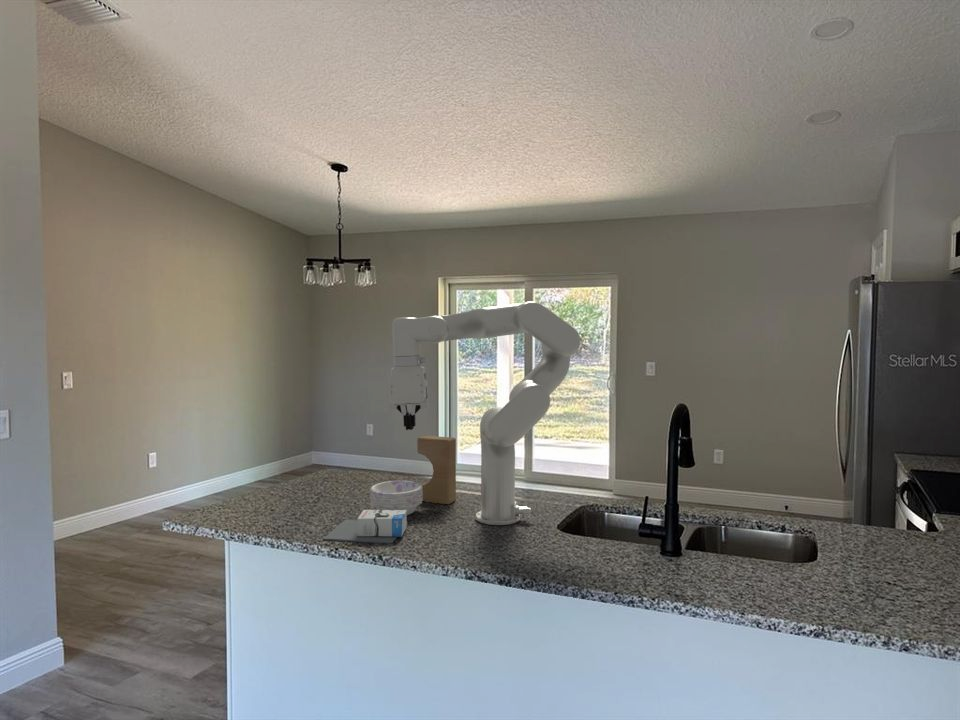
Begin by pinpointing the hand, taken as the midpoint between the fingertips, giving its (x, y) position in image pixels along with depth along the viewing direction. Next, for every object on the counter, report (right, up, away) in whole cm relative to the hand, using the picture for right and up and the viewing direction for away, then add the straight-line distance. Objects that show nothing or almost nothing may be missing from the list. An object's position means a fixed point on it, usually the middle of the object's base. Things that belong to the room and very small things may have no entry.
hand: (409, 429), depth 168 cm
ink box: (0, -24, -8) cm, 25 cm away
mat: (-10, -26, -6) cm, 29 cm away
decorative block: (+6, -26, +24) cm, 35 cm away
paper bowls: (-5, -26, +11) cm, 29 cm away
